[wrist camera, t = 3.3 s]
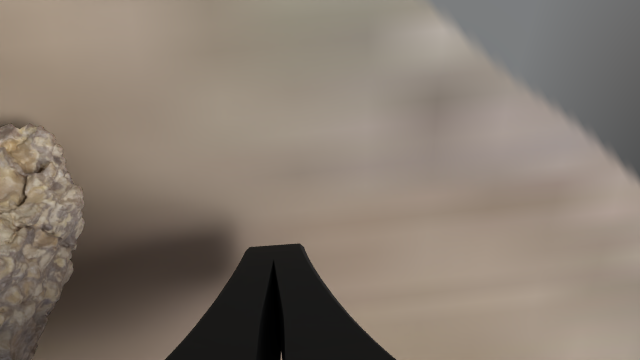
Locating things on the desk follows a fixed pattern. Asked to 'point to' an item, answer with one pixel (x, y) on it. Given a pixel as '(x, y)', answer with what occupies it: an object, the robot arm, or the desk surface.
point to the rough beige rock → (33, 234)
